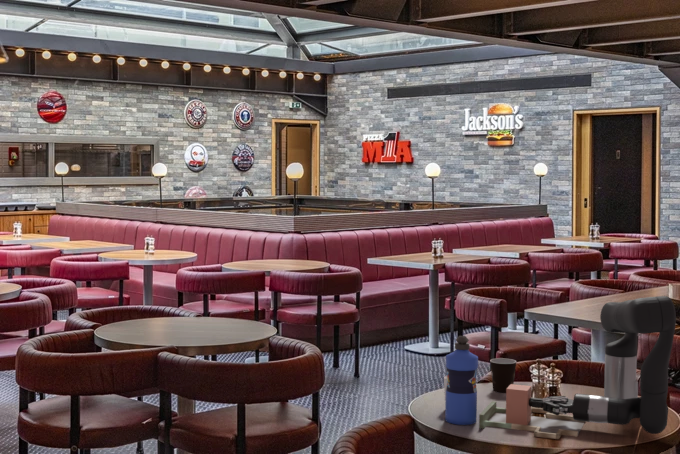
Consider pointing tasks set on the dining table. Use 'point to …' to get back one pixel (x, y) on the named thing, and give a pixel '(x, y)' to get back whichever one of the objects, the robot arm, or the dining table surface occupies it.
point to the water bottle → (461, 384)
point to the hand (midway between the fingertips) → (529, 401)
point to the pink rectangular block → (518, 404)
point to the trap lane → (532, 422)
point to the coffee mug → (502, 373)
